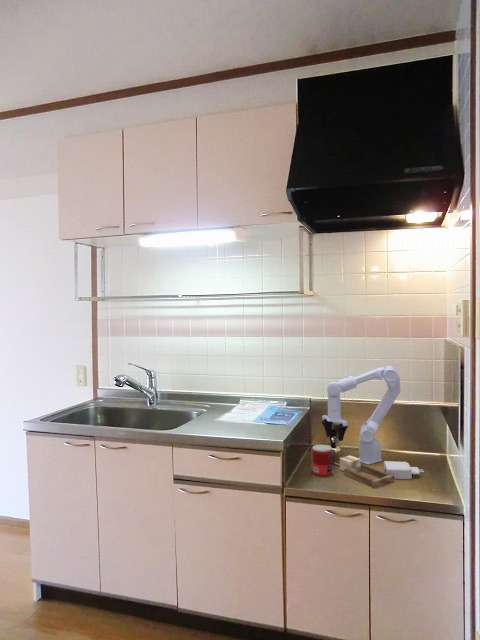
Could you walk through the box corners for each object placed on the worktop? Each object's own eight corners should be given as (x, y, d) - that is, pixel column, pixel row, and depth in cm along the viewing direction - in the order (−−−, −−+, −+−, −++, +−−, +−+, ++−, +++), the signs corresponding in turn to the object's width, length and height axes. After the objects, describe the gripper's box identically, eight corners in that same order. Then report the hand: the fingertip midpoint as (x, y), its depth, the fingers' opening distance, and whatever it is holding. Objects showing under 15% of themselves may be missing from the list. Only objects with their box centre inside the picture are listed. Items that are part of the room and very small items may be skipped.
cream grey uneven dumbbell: (335, 460, 210) (335, 448, 209) (360, 471, 197) (360, 457, 196) (325, 463, 207) (325, 451, 206) (350, 474, 194) (349, 460, 193)
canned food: (332, 477, 191) (331, 450, 191) (312, 476, 193) (311, 450, 192) (332, 470, 199) (331, 445, 198) (313, 469, 200) (312, 444, 200)
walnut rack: (362, 469, 199) (362, 463, 199) (394, 481, 185) (394, 475, 185) (344, 475, 193) (344, 469, 193) (374, 488, 179) (374, 481, 179)
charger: (426, 481, 185) (386, 479, 188) (421, 472, 194) (383, 471, 197) (426, 469, 185) (386, 468, 188) (421, 461, 194) (383, 460, 197)
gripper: (316, 407, 216) (317, 436, 216) (338, 413, 204) (339, 444, 204) (328, 405, 220) (329, 433, 220) (350, 410, 207) (351, 441, 208)
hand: (334, 438), depth 212 cm, fingers open, 7 cm apart
